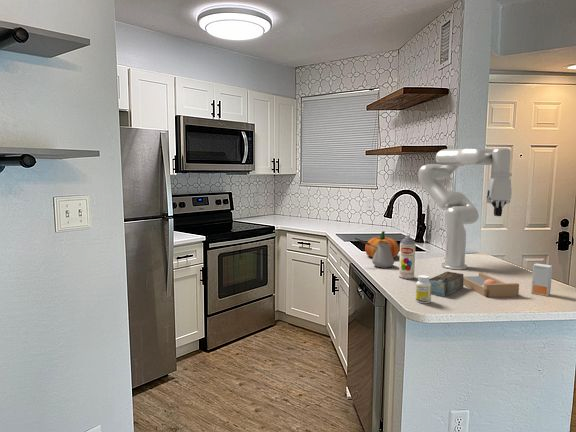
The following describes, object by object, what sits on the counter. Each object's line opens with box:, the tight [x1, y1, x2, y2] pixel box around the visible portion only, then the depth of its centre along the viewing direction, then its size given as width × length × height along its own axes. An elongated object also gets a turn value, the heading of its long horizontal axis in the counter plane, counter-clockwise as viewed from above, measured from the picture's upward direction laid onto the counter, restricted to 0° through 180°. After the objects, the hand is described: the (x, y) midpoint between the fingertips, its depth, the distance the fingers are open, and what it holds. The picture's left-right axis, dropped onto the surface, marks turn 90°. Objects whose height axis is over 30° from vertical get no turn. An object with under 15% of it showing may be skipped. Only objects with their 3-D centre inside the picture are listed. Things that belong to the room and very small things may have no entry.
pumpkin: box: [364, 231, 400, 259], centre depth 237 cm, size 19×19×15 cm
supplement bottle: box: [415, 274, 432, 304], centre depth 156 cm, size 5×5×10 cm
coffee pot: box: [353, 237, 395, 269], centre depth 214 cm, size 21×12×15 cm, turn 88°
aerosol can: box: [398, 234, 416, 280], centre depth 191 cm, size 7×7×20 cm
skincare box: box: [530, 263, 553, 297], centre depth 167 cm, size 6×4×12 cm
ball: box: [483, 279, 496, 287], centre depth 171 cm, size 5×5×5 cm
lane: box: [463, 272, 520, 298], centre depth 176 cm, size 27×13×5 cm, turn 5°
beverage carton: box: [429, 271, 465, 298], centre depth 172 cm, size 8×19×7 cm, turn 135°
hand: (497, 215), depth 189 cm, fingers closed
